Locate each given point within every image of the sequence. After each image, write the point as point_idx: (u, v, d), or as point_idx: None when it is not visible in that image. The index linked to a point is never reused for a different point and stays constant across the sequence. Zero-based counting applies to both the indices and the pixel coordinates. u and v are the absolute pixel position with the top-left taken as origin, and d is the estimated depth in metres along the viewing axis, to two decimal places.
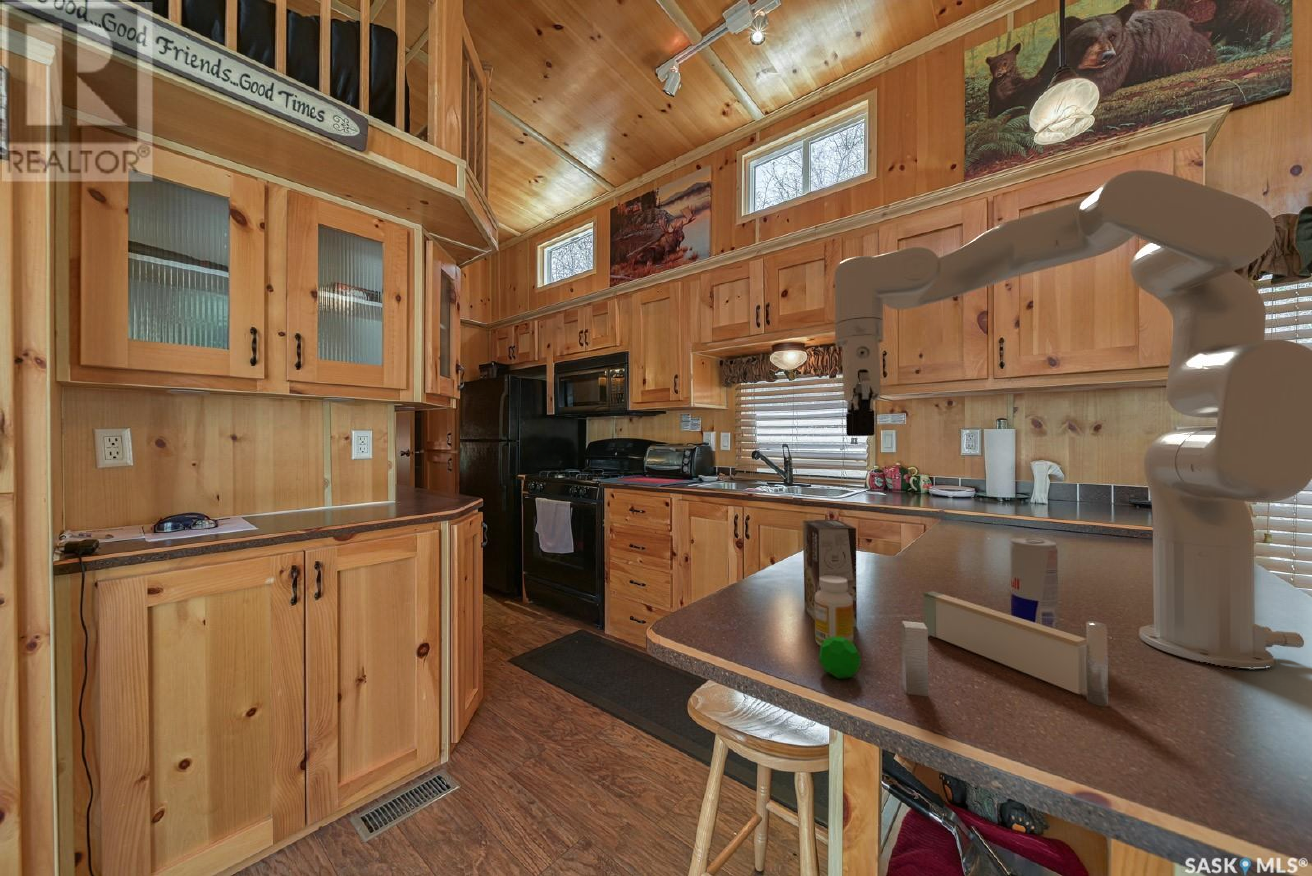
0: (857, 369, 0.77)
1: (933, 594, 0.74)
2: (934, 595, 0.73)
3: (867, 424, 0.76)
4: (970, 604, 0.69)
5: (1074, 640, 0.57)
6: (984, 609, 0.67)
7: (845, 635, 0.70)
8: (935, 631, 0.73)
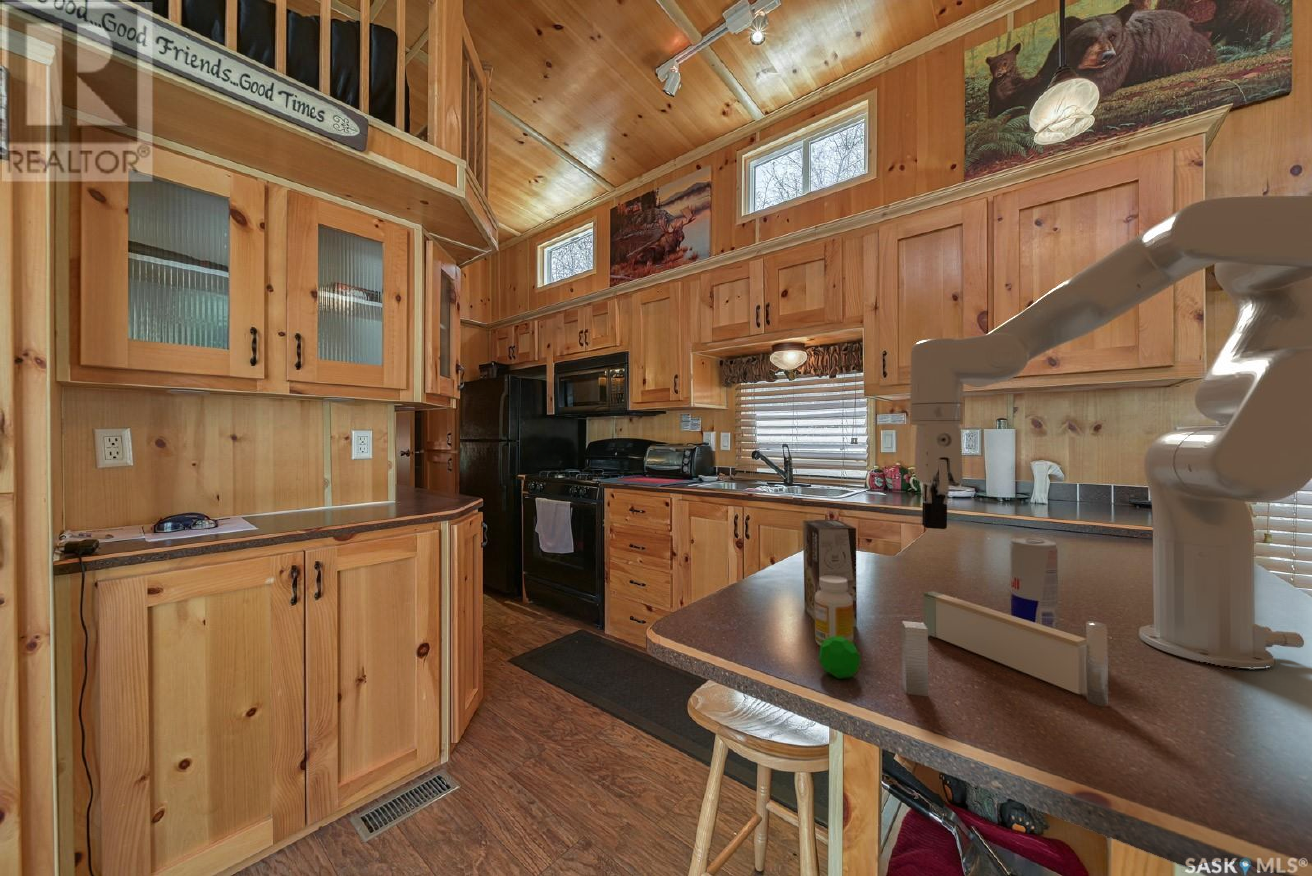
0: (938, 457, 0.74)
1: (933, 594, 0.74)
2: (934, 595, 0.73)
3: (940, 518, 0.78)
4: (970, 604, 0.69)
5: (1074, 640, 0.57)
6: (984, 609, 0.67)
7: (845, 635, 0.70)
8: (935, 631, 0.73)
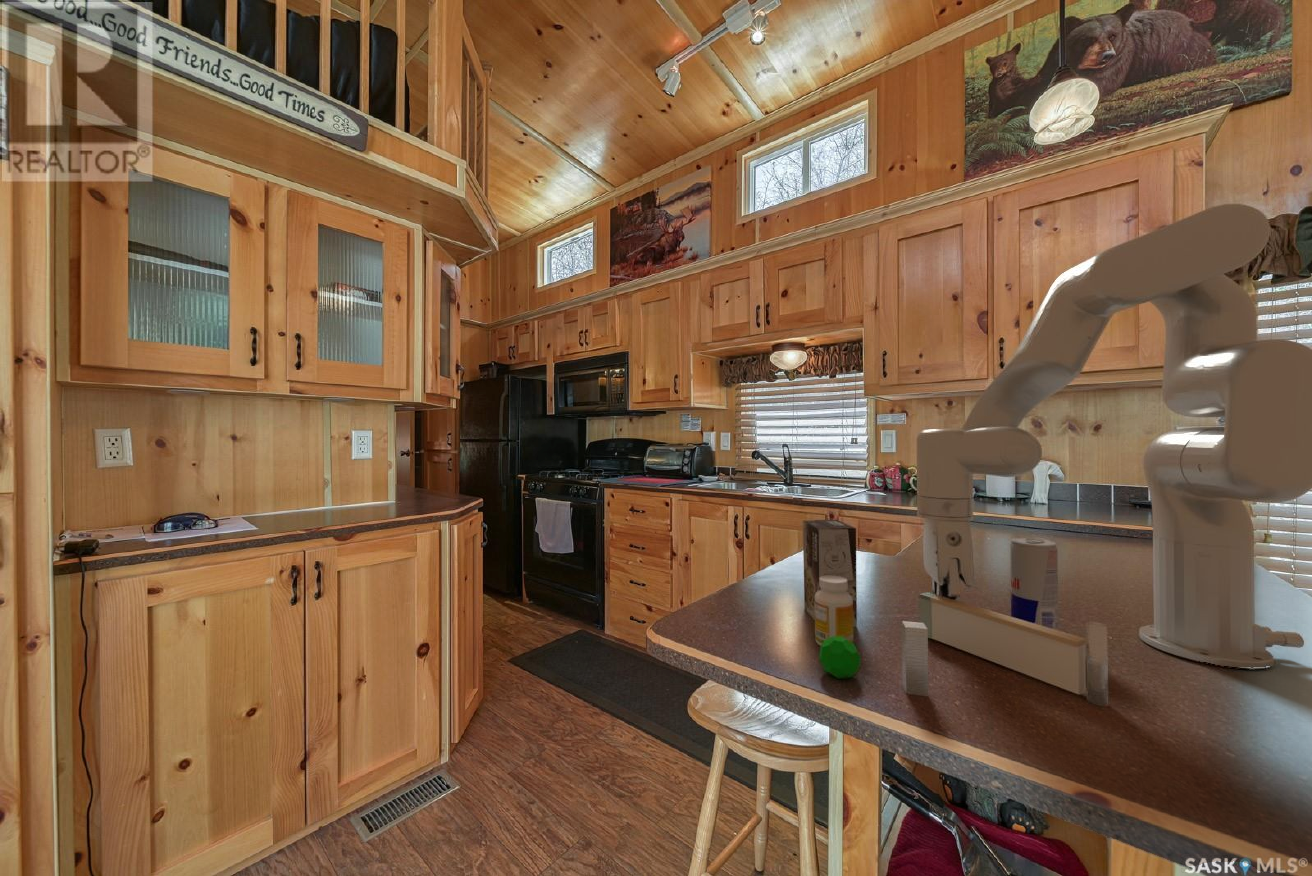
0: (948, 557, 0.71)
1: (928, 595, 0.73)
2: (930, 596, 0.73)
3: None
4: (967, 605, 0.69)
5: (1074, 640, 0.57)
6: (981, 610, 0.67)
7: (845, 635, 0.70)
8: (931, 633, 0.73)
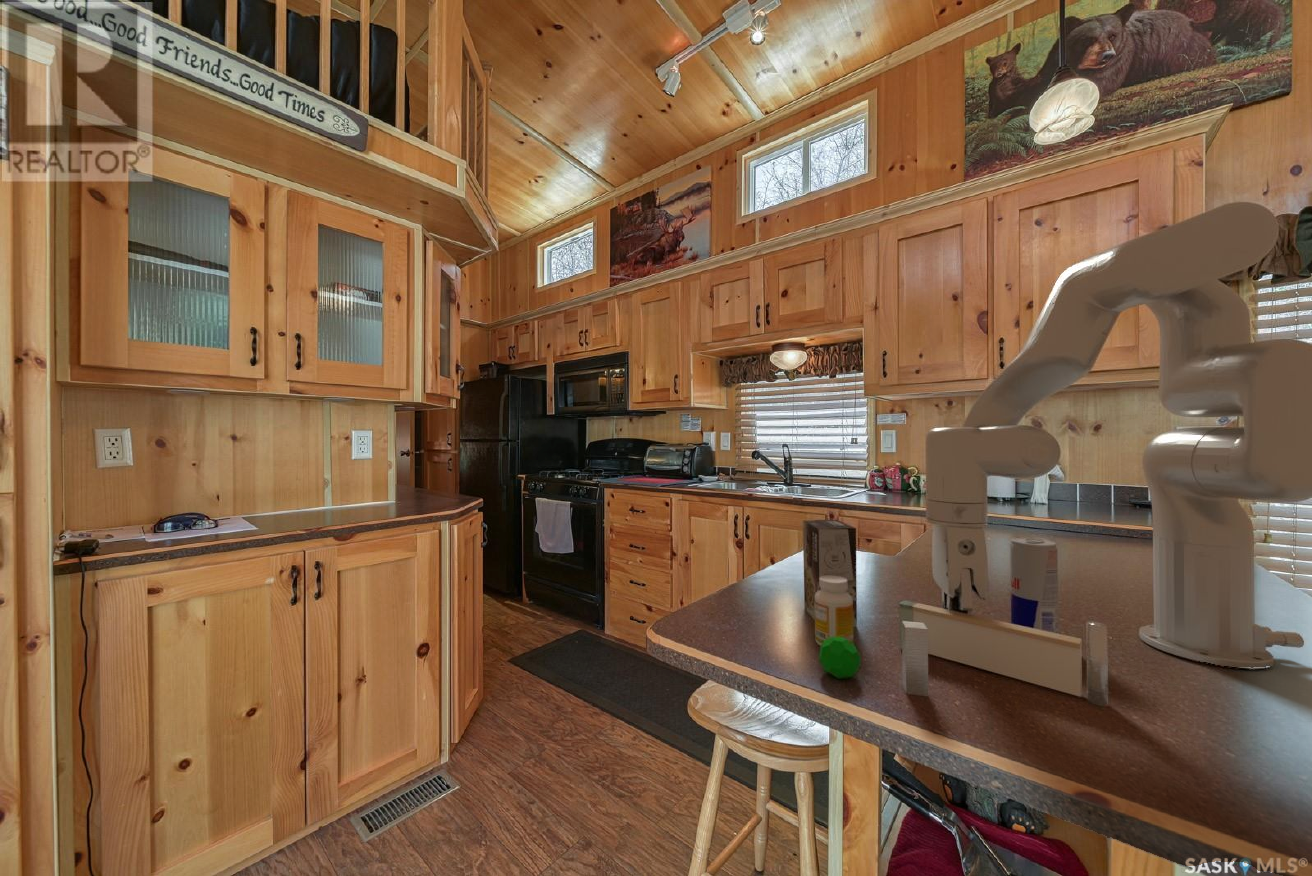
0: (960, 567, 0.65)
1: (909, 604, 0.70)
2: (911, 605, 0.69)
3: None
4: (952, 612, 0.66)
5: (1075, 642, 0.56)
6: (969, 616, 0.65)
7: (845, 635, 0.70)
8: None
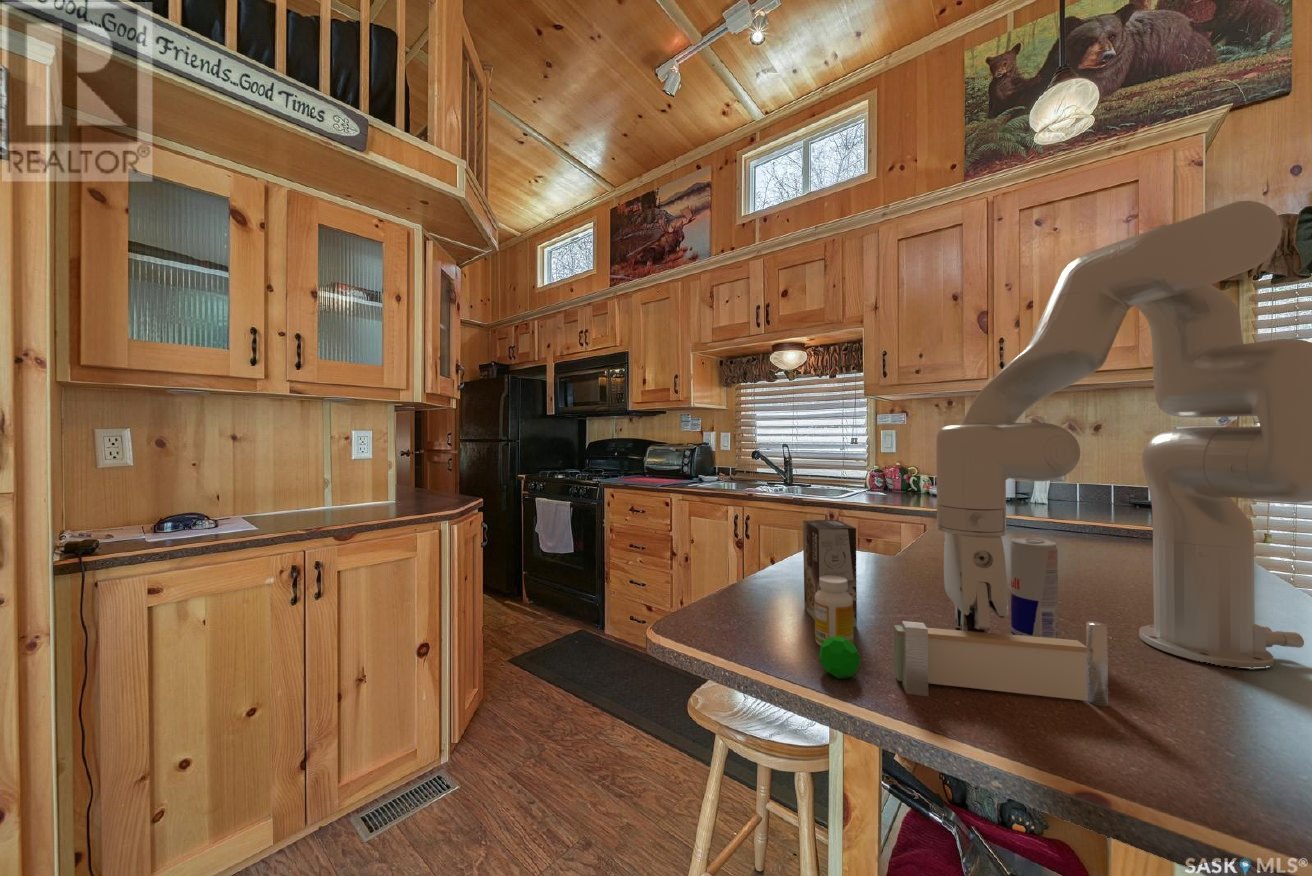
0: (975, 581, 0.58)
1: None
2: None
3: None
4: (953, 632, 0.60)
5: (1082, 646, 0.55)
6: (971, 634, 0.59)
7: (845, 635, 0.70)
8: None
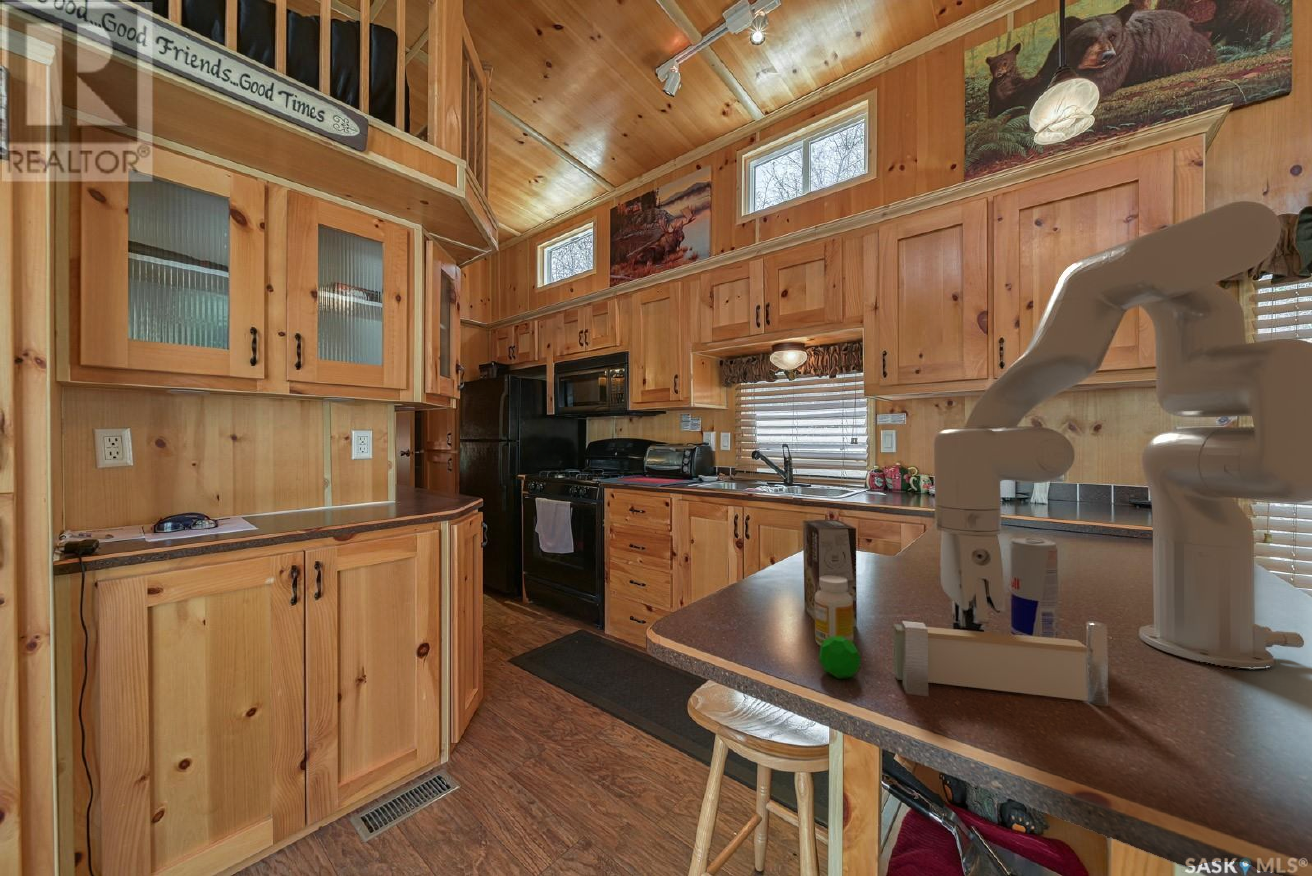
0: (974, 578, 0.61)
1: None
2: None
3: None
4: (952, 631, 0.60)
5: (1082, 646, 0.55)
6: (971, 633, 0.59)
7: (845, 635, 0.70)
8: None
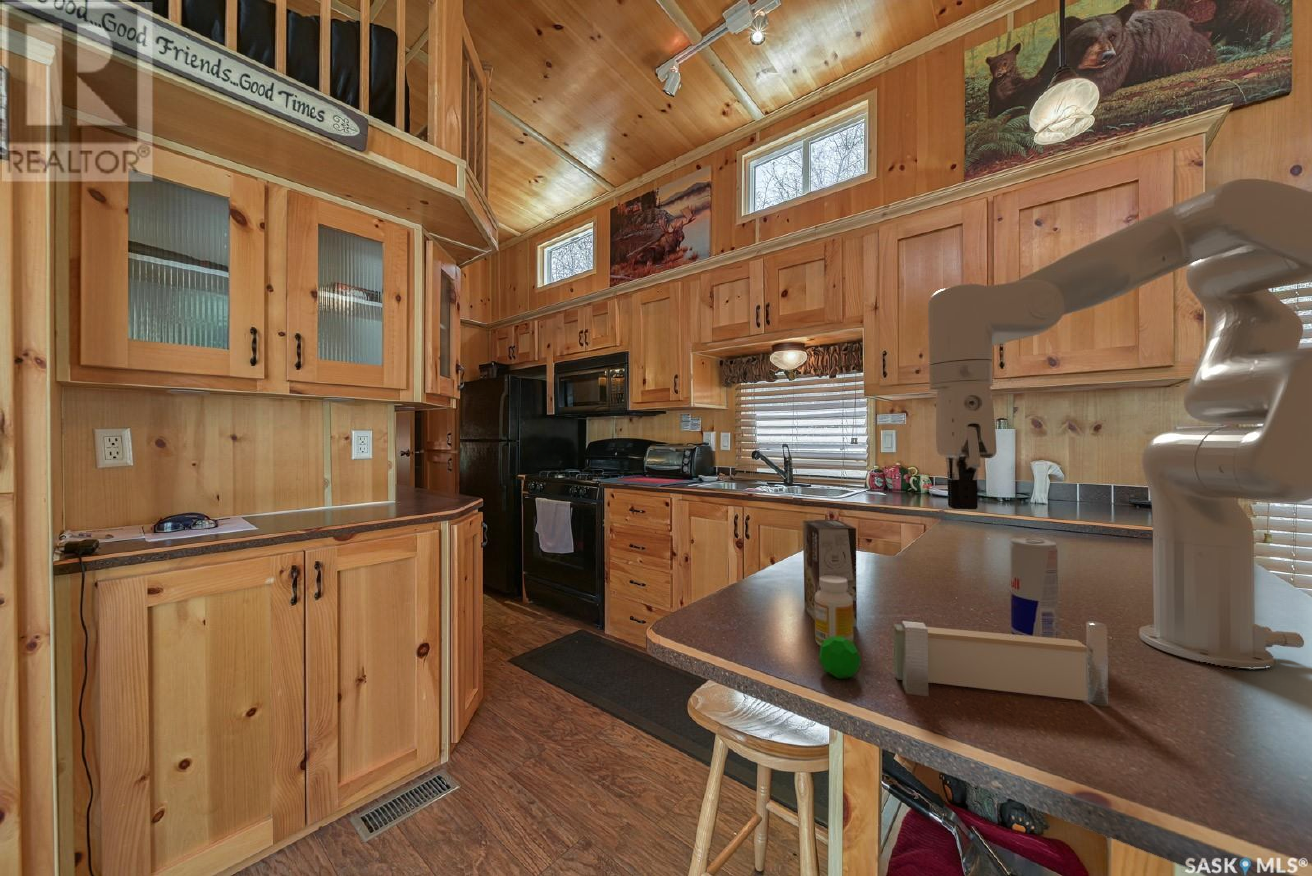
0: (966, 423, 0.63)
1: None
2: None
3: (970, 497, 0.66)
4: (952, 631, 0.60)
5: (1082, 646, 0.55)
6: (971, 633, 0.59)
7: (845, 635, 0.70)
8: None
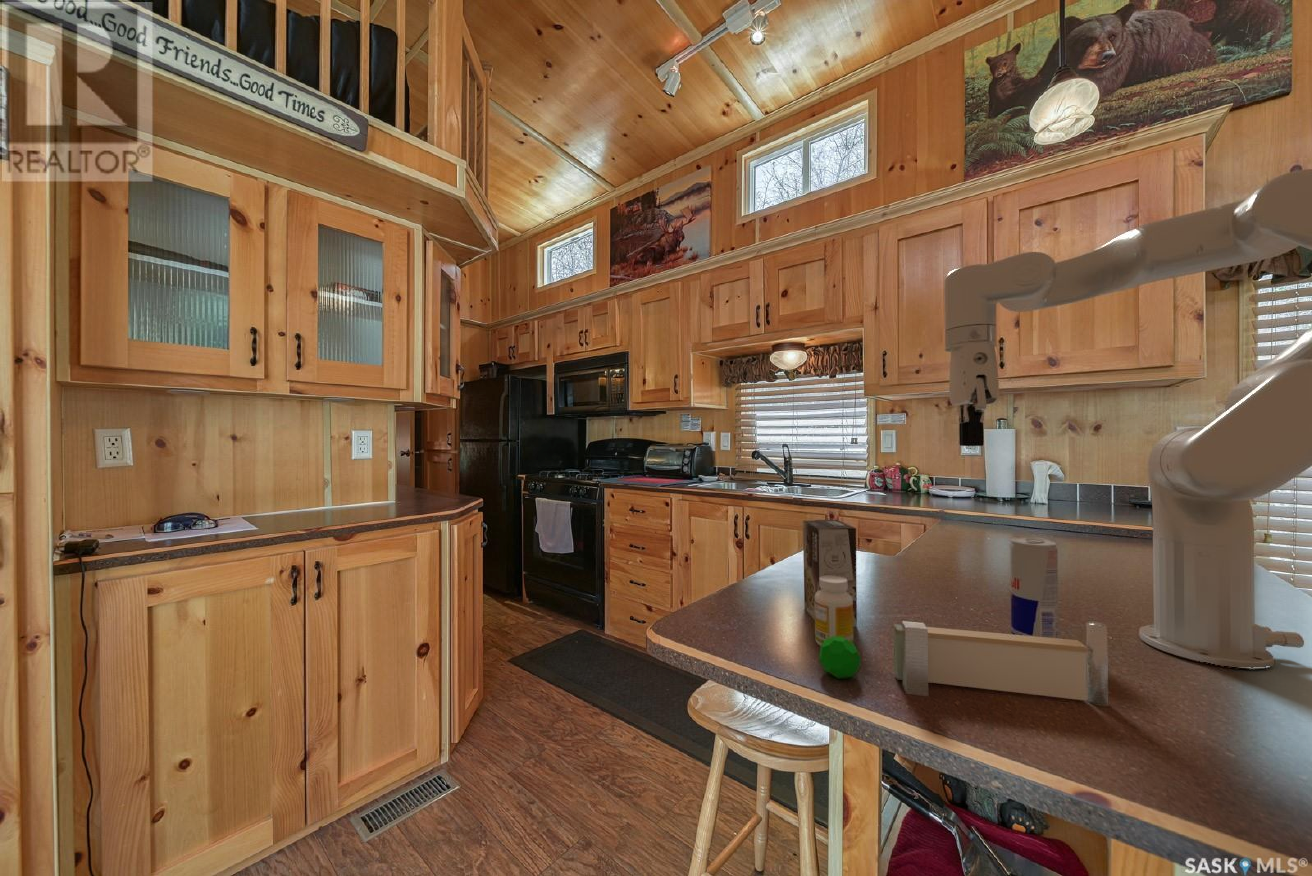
0: (975, 374, 0.79)
1: None
2: None
3: (977, 435, 0.82)
4: (952, 631, 0.60)
5: (1082, 646, 0.55)
6: (971, 633, 0.59)
7: (845, 635, 0.70)
8: None
